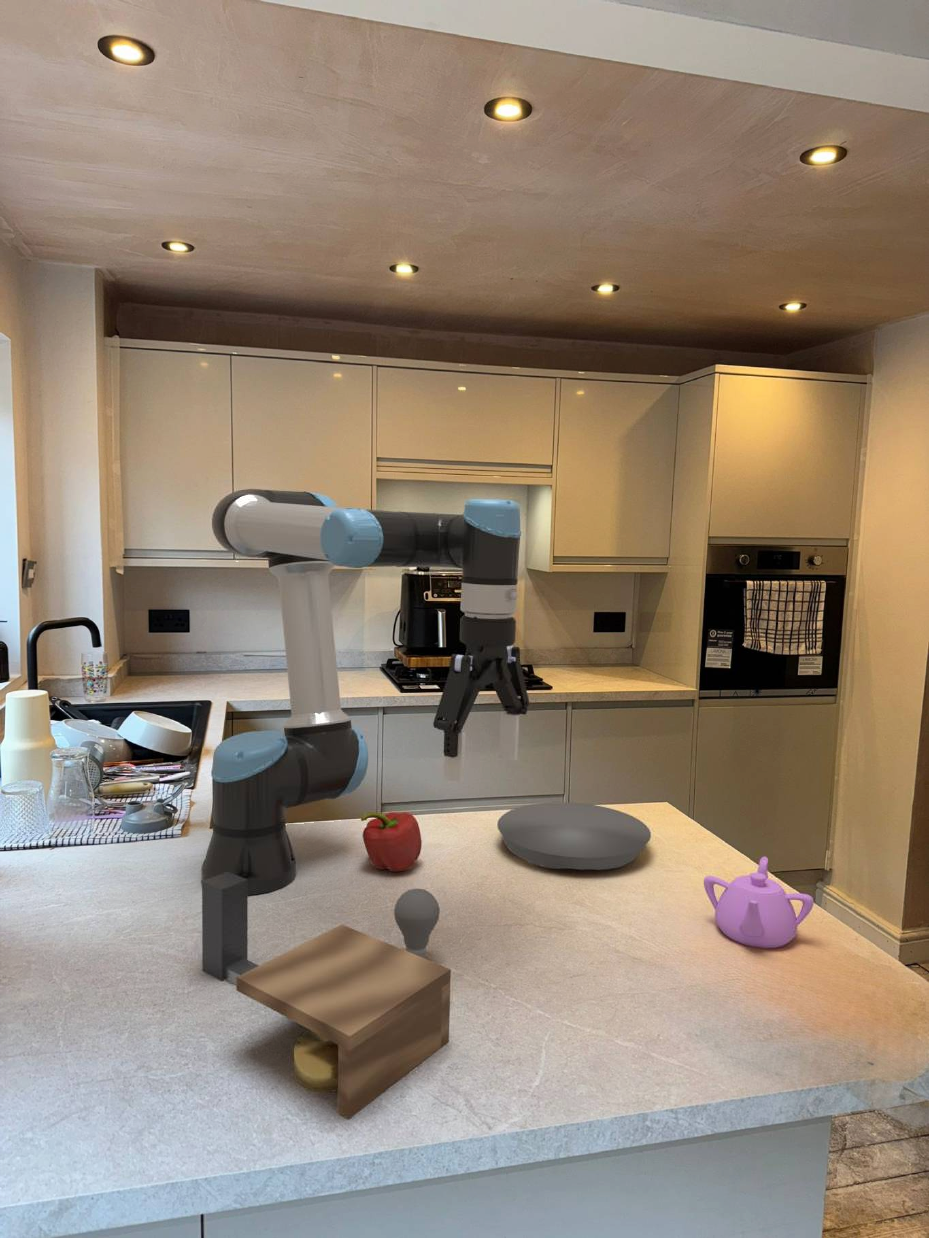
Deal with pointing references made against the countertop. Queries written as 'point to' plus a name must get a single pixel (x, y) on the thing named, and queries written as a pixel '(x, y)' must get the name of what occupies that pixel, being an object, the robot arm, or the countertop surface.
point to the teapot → (757, 909)
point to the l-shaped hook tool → (225, 927)
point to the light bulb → (416, 919)
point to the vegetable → (392, 840)
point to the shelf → (359, 1006)
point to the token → (316, 1062)
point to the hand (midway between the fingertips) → (482, 768)
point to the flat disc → (573, 835)
